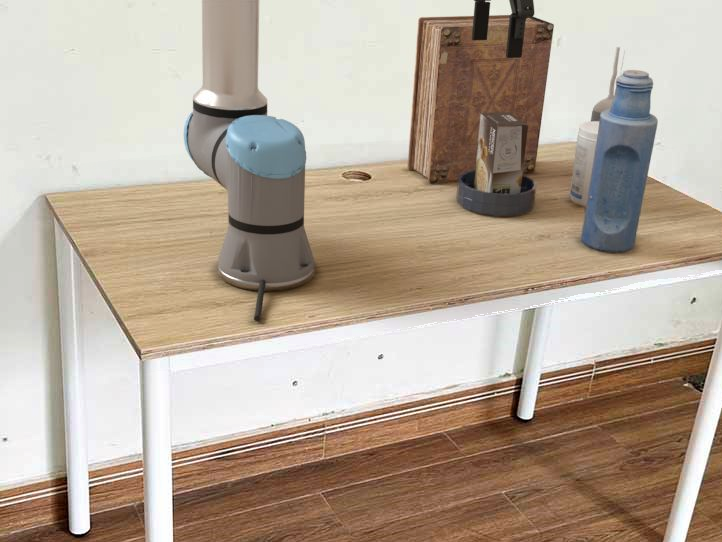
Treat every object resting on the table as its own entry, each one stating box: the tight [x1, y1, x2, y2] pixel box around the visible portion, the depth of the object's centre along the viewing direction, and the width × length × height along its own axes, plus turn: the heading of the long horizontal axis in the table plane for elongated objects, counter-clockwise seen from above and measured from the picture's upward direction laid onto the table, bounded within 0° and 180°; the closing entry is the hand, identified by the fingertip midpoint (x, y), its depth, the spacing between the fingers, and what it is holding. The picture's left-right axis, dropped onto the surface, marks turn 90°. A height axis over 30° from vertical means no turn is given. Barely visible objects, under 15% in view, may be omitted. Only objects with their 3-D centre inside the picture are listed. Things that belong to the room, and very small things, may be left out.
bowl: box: [455, 170, 538, 218], centre depth 202 cm, size 15×15×4 cm
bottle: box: [580, 69, 659, 254], centre depth 181 cm, size 10×10×30 cm
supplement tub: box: [569, 120, 599, 208], centre depth 204 cm, size 10×10×15 cm
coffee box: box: [474, 112, 528, 194], centre depth 198 cm, size 9×6×16 cm
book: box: [407, 14, 555, 185], centre depth 212 cm, size 25×9×30 cm, turn 116°
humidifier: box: [590, 46, 626, 122], centre depth 221 cm, size 8×8×25 cm
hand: (495, 48), depth 187 cm, fingers open, 13 cm apart
